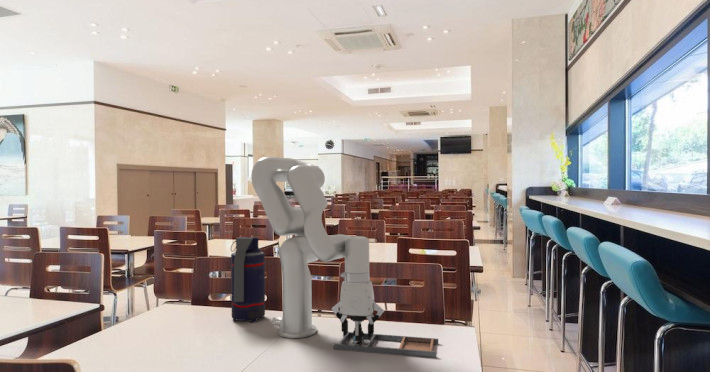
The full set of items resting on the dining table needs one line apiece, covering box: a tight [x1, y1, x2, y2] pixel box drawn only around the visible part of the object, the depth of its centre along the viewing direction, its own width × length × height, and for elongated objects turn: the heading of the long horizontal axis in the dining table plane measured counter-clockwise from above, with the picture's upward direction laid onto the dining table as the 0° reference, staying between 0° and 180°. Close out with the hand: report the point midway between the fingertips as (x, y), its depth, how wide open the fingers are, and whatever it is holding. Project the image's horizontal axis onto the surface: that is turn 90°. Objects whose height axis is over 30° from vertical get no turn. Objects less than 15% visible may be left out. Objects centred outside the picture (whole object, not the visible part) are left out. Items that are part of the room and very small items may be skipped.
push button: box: [349, 316, 367, 345], centre depth 133 cm, size 7×5×10 cm
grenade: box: [230, 236, 266, 324], centre depth 159 cm, size 14×12×30 cm
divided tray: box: [333, 331, 439, 359], centre depth 131 cm, size 30×11×2 cm, turn 76°
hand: (357, 334), depth 133 cm, fingers open, 7 cm apart
